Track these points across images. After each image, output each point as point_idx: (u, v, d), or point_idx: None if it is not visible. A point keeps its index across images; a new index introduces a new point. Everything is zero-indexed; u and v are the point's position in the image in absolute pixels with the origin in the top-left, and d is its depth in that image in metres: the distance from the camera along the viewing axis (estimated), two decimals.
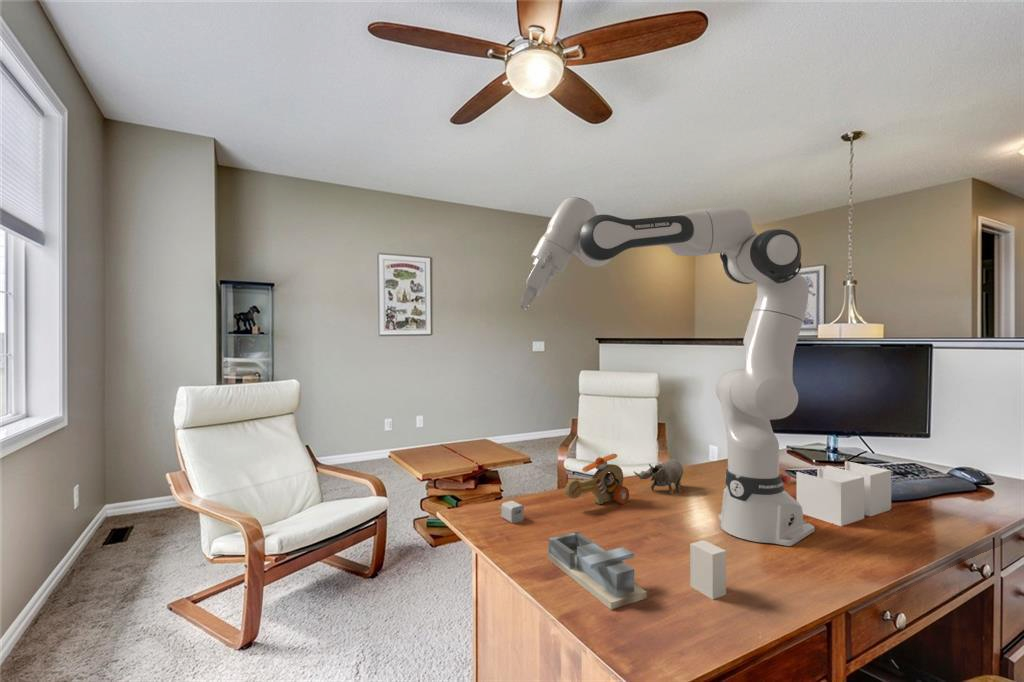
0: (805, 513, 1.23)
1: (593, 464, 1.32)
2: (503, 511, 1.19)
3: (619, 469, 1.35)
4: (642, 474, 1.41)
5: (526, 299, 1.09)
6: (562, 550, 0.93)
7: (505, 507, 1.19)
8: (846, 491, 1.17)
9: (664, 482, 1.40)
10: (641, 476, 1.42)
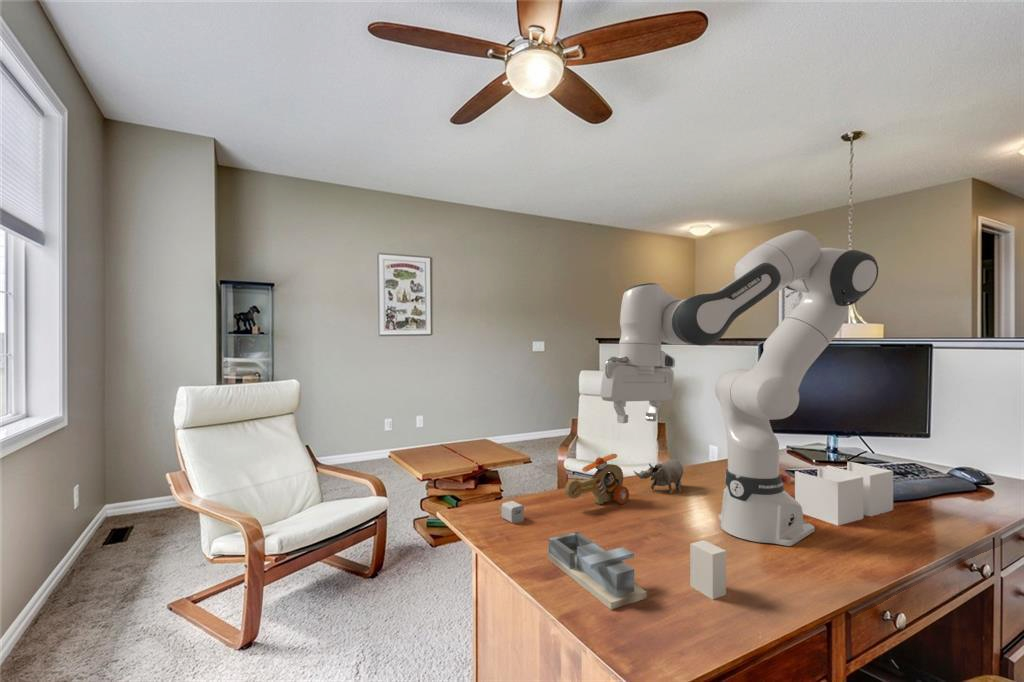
0: (803, 512, 1.24)
1: (592, 464, 1.32)
2: (503, 511, 1.19)
3: (619, 469, 1.35)
4: (642, 474, 1.42)
5: (620, 414, 0.97)
6: (562, 550, 0.93)
7: (505, 507, 1.19)
8: (843, 491, 1.17)
9: (664, 482, 1.41)
10: (641, 476, 1.42)
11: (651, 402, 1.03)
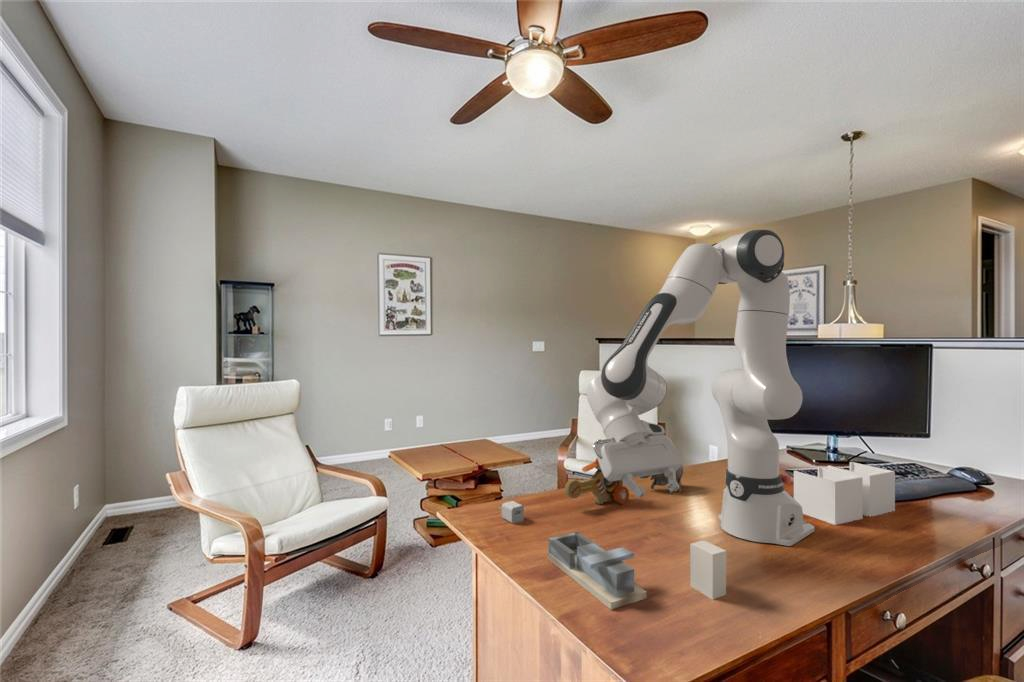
0: None
1: (592, 464, 1.32)
2: (503, 511, 1.19)
3: None
4: None
5: (634, 488, 0.95)
6: (562, 550, 0.93)
7: (505, 507, 1.19)
8: (841, 490, 1.17)
9: (664, 481, 1.41)
10: None
11: (665, 473, 1.02)
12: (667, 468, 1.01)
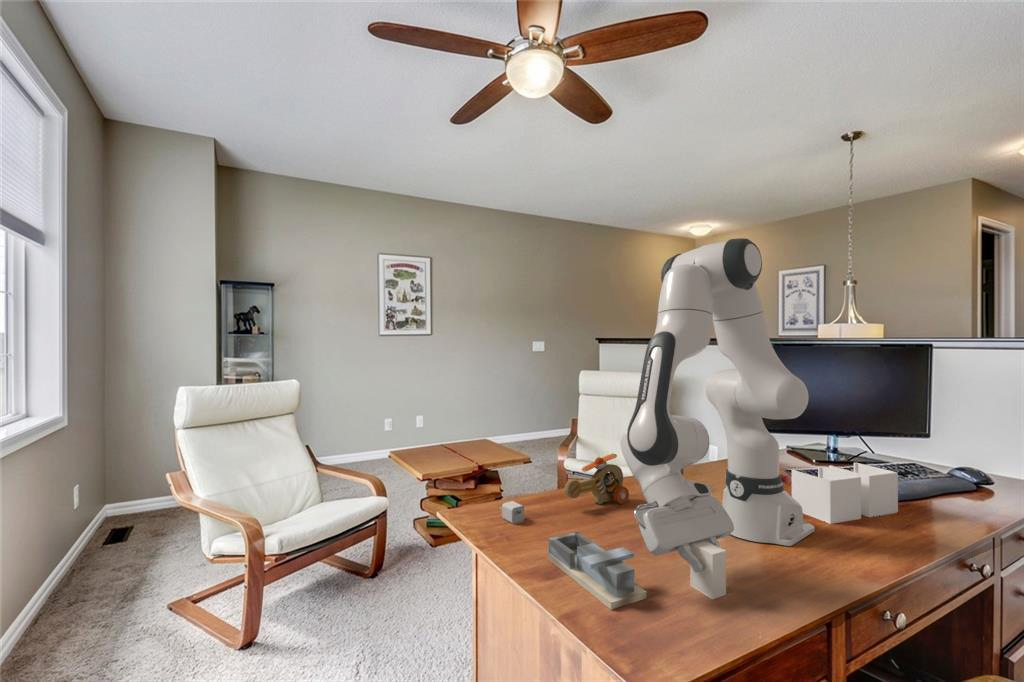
0: None
1: (592, 464, 1.32)
2: (503, 511, 1.19)
3: (619, 469, 1.35)
4: None
5: (692, 561, 0.84)
6: (562, 550, 0.93)
7: (505, 507, 1.18)
8: (837, 489, 1.18)
9: None
10: None
11: None
12: (709, 538, 0.89)
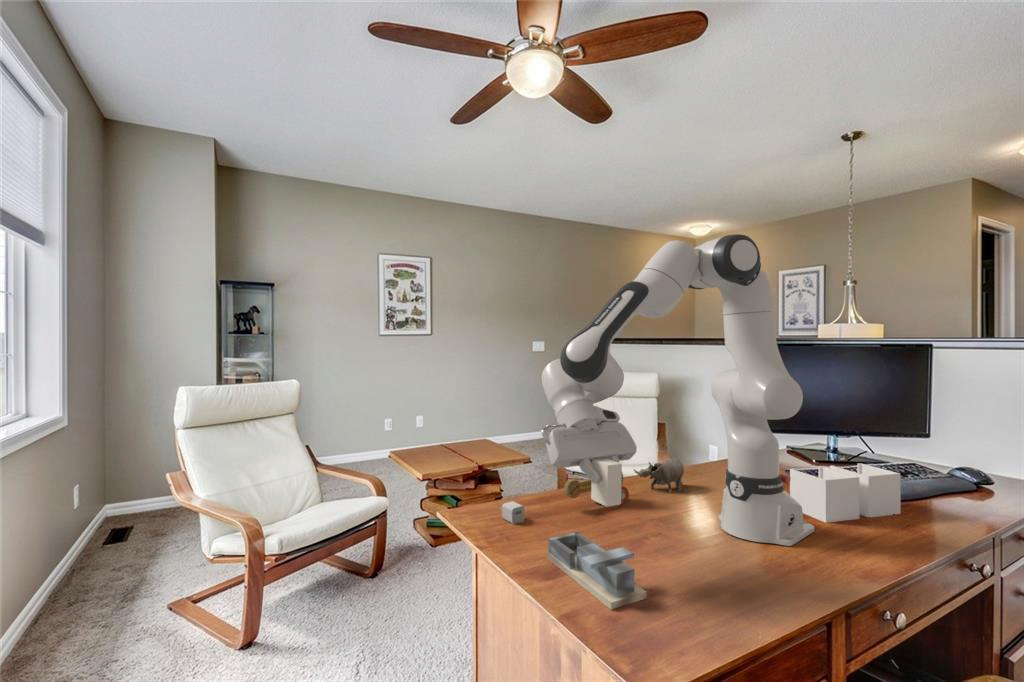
0: None
1: None
2: (504, 512, 1.19)
3: None
4: (641, 472, 1.44)
5: (591, 474, 0.92)
6: (562, 550, 0.93)
7: (506, 508, 1.18)
8: (833, 489, 1.18)
9: (663, 480, 1.42)
10: (640, 474, 1.44)
11: None
12: (611, 457, 0.96)
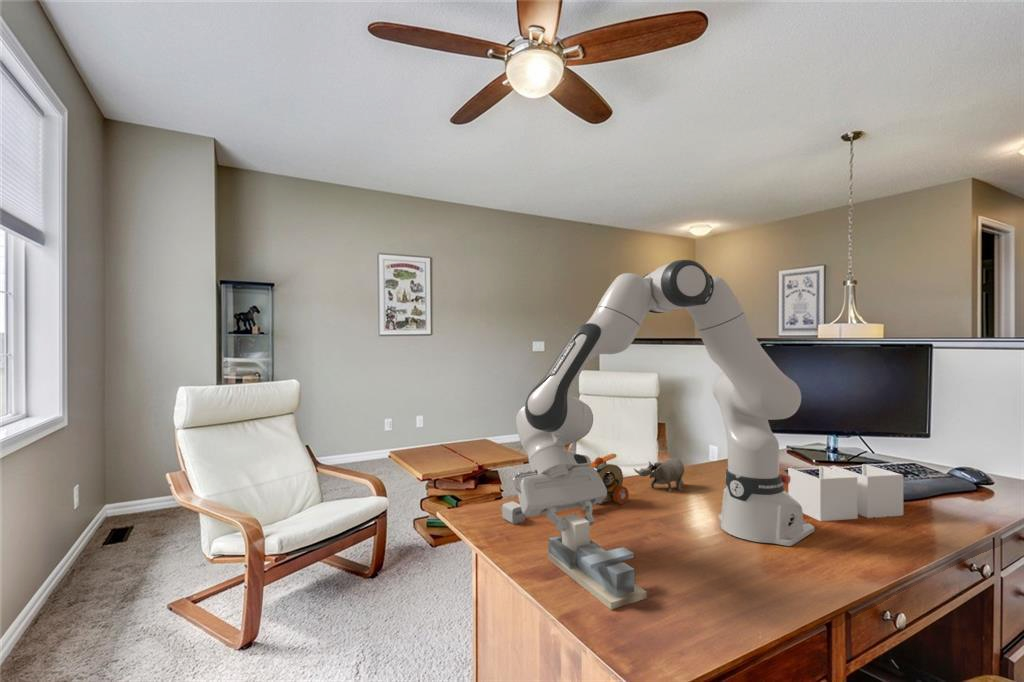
0: None
1: (592, 464, 1.32)
2: (504, 512, 1.19)
3: (619, 469, 1.35)
4: (641, 471, 1.44)
5: (556, 522, 0.94)
6: (562, 550, 0.93)
7: (506, 508, 1.18)
8: (829, 488, 1.19)
9: (663, 480, 1.43)
10: (640, 473, 1.45)
11: (583, 507, 1.00)
12: (584, 502, 0.99)
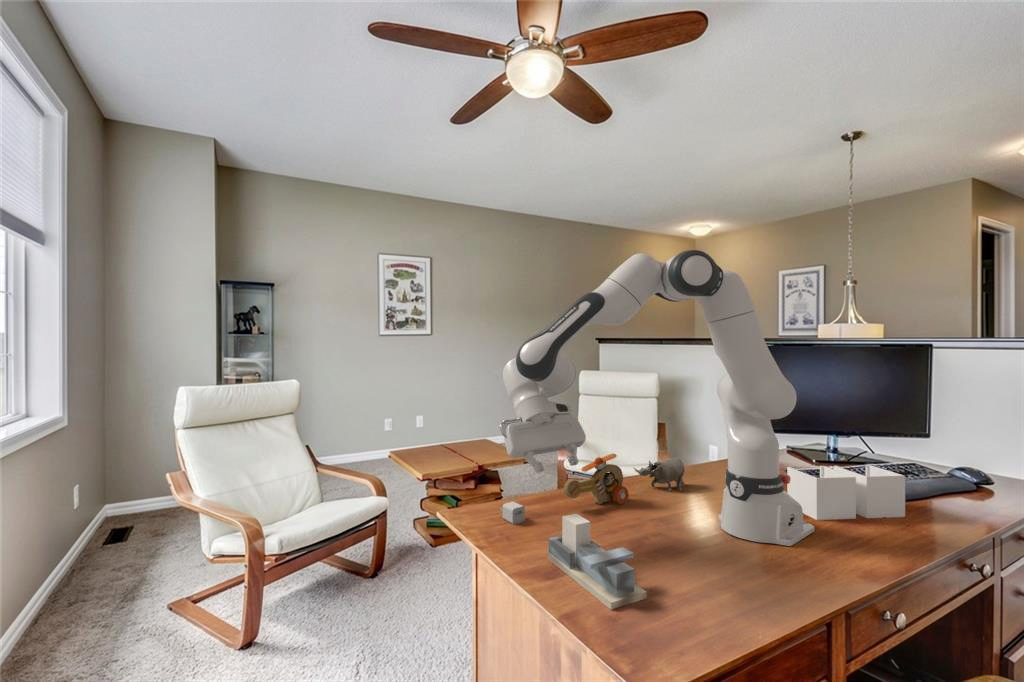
0: None
1: (592, 464, 1.32)
2: (504, 512, 1.19)
3: (618, 469, 1.35)
4: (641, 471, 1.45)
5: (534, 464, 1.03)
6: (562, 550, 0.93)
7: (506, 508, 1.18)
8: (825, 487, 1.20)
9: (663, 479, 1.43)
10: (640, 473, 1.45)
11: (568, 449, 1.10)
12: (569, 445, 1.09)
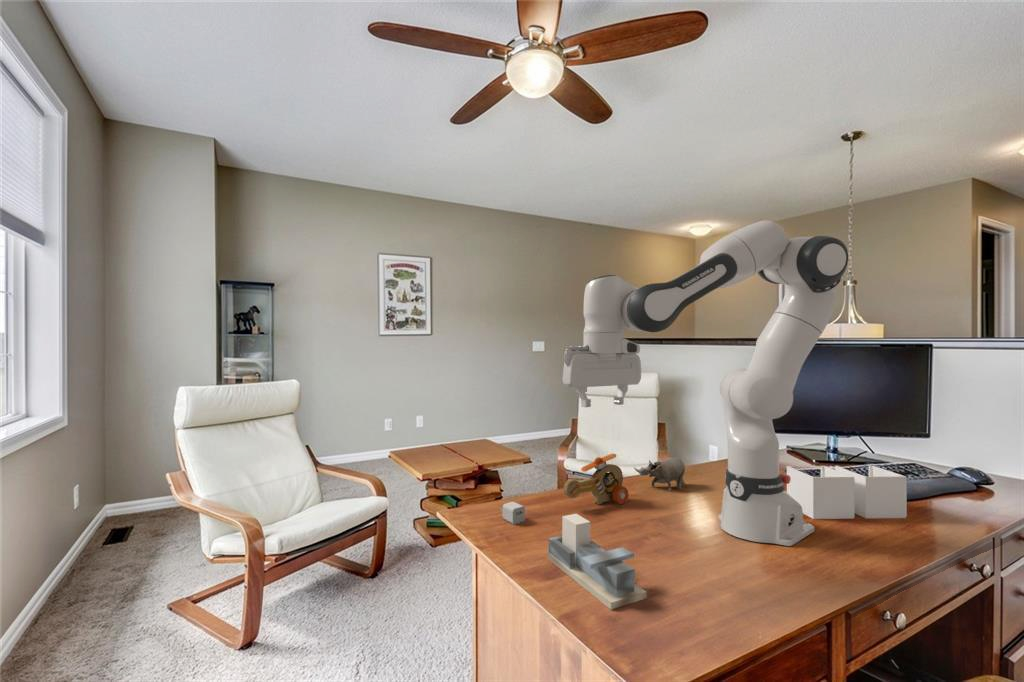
0: None
1: (592, 464, 1.32)
2: (504, 512, 1.19)
3: (618, 469, 1.35)
4: (641, 470, 1.46)
5: (583, 399, 1.04)
6: (562, 550, 0.93)
7: (506, 508, 1.18)
8: (822, 486, 1.20)
9: (663, 479, 1.43)
10: (640, 472, 1.46)
11: (618, 387, 1.10)
12: (622, 385, 1.09)
